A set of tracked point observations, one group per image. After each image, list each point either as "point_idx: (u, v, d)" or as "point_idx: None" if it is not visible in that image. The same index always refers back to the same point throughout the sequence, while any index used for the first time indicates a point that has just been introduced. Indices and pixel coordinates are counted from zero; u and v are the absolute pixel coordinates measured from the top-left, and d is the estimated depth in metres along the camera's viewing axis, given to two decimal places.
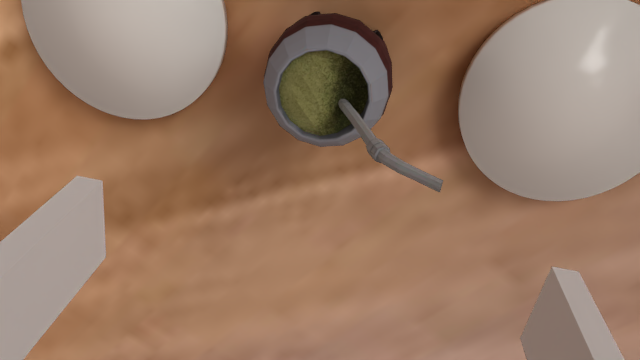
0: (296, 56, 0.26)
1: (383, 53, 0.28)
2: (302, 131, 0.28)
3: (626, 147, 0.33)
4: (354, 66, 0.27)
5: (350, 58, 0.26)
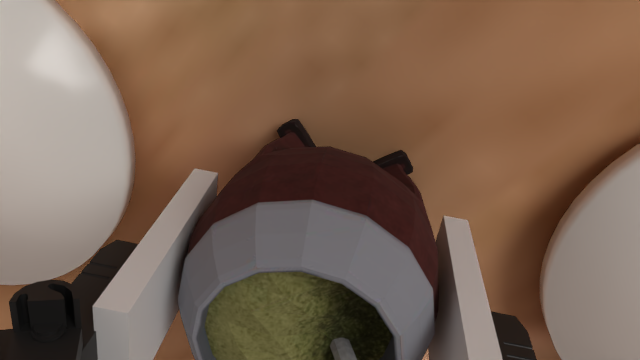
0: (234, 279, 0.12)
1: (424, 245, 0.13)
2: None
3: None
4: None
5: (355, 288, 0.11)
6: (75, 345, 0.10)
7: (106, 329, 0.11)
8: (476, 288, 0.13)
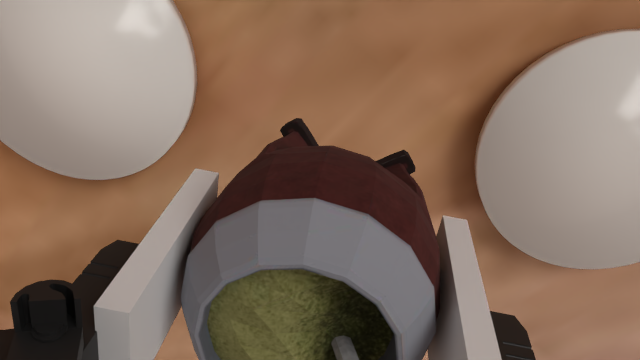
0: (236, 277, 0.12)
1: (425, 244, 0.13)
2: None
3: None
4: None
5: (356, 286, 0.12)
6: (76, 345, 0.10)
7: (107, 329, 0.11)
8: (475, 288, 0.13)
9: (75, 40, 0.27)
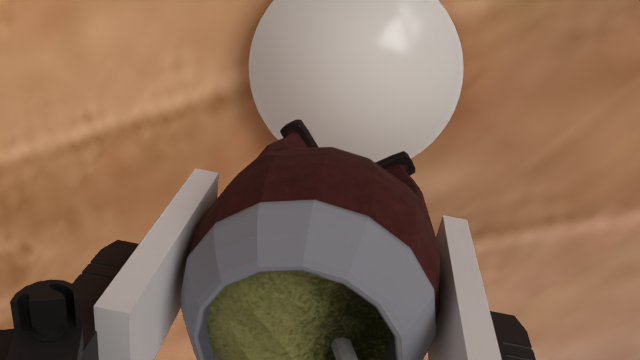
0: (236, 279, 0.12)
1: (425, 246, 0.13)
2: None
3: None
4: None
5: (356, 288, 0.12)
6: (76, 345, 0.10)
7: (107, 329, 0.11)
8: (475, 288, 0.13)
9: (366, 55, 0.32)
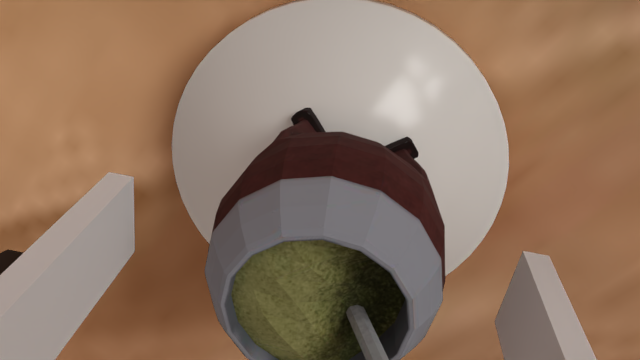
0: (261, 248, 0.13)
1: (432, 219, 0.15)
2: None
3: None
4: None
5: (371, 254, 0.13)
6: None
7: None
8: (578, 339, 0.12)
9: None
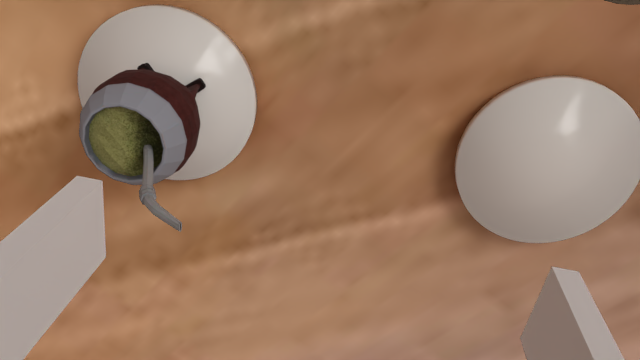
0: (95, 111, 0.31)
1: (180, 105, 0.32)
2: (113, 173, 0.33)
3: (596, 198, 0.39)
4: None
5: (140, 112, 0.31)
6: None
7: None
8: None
9: None
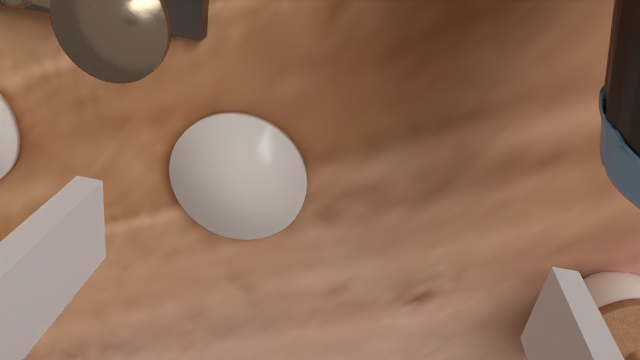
0: None
1: None
2: None
3: (279, 206, 0.50)
4: None
5: None
6: None
7: None
8: None
9: None
